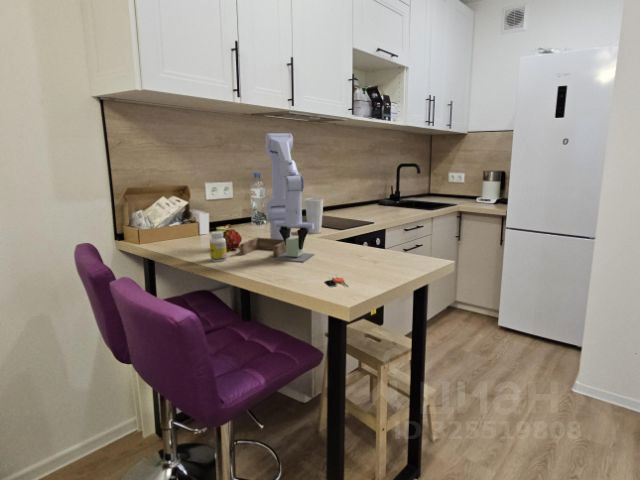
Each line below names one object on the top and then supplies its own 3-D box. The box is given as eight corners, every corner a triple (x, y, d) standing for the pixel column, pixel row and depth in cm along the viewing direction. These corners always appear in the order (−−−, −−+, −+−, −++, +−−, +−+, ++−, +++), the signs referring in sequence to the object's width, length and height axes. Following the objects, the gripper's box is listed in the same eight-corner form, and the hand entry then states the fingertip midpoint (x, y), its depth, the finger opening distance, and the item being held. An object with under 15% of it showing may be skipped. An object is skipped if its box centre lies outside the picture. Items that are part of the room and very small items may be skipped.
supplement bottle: (210, 258, 146) (208, 231, 144) (225, 257, 148) (224, 230, 146) (211, 262, 142) (210, 234, 139) (228, 261, 143) (226, 233, 141)
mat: (286, 252, 154) (286, 251, 154) (314, 254, 151) (314, 253, 151) (273, 260, 144) (273, 258, 144) (303, 262, 141) (303, 261, 140)
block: (291, 252, 150) (290, 236, 149) (302, 253, 149) (302, 237, 147) (286, 255, 146) (285, 239, 145) (298, 256, 144) (297, 240, 143)
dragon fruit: (223, 257, 155) (233, 254, 167) (241, 244, 154) (249, 241, 166) (210, 238, 155) (220, 236, 167) (228, 225, 154) (237, 224, 166)
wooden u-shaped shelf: (256, 247, 163) (256, 237, 162) (290, 250, 159) (290, 239, 158) (240, 254, 152) (240, 244, 151) (276, 257, 147) (276, 246, 146)
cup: (301, 232, 193) (301, 199, 190) (315, 229, 199) (315, 197, 195) (313, 234, 187) (313, 200, 184) (327, 232, 192) (327, 199, 189)
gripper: (269, 211, 142) (270, 249, 145) (309, 212, 138) (309, 252, 141) (278, 208, 149) (279, 245, 152) (316, 209, 144) (316, 247, 147)
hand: (294, 248), depth 147 cm, fingers closed on block, 4 cm apart
